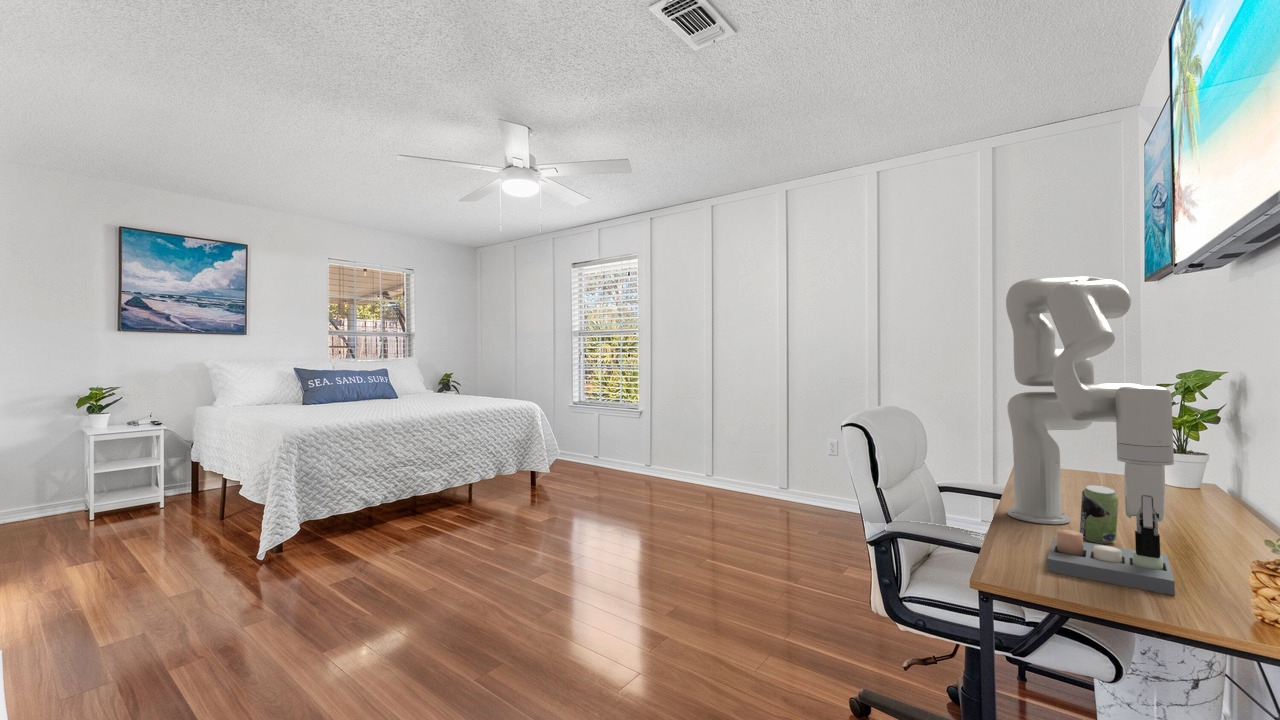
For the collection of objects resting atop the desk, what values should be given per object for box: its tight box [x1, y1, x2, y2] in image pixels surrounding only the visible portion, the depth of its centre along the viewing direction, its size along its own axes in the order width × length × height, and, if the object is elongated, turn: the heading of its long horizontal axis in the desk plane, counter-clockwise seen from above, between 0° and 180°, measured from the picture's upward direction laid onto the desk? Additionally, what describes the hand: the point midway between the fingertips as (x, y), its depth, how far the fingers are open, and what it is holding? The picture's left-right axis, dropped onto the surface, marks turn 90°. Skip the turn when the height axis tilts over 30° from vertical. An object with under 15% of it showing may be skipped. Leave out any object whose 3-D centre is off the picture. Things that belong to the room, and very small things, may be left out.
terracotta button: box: [1056, 529, 1084, 555], centre depth 105 cm, size 4×4×4 cm
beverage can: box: [1079, 484, 1119, 545], centre depth 118 cm, size 6×7×12 cm
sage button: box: [1132, 552, 1163, 570], centre depth 98 cm, size 4×4×4 cm
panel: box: [1046, 537, 1176, 596], centre depth 102 cm, size 16×17×2 cm
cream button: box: [1093, 544, 1122, 563], centre depth 101 cm, size 4×4×4 cm
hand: (1147, 555), depth 98 cm, fingers closed
